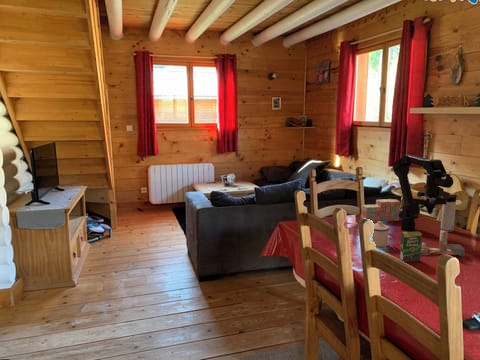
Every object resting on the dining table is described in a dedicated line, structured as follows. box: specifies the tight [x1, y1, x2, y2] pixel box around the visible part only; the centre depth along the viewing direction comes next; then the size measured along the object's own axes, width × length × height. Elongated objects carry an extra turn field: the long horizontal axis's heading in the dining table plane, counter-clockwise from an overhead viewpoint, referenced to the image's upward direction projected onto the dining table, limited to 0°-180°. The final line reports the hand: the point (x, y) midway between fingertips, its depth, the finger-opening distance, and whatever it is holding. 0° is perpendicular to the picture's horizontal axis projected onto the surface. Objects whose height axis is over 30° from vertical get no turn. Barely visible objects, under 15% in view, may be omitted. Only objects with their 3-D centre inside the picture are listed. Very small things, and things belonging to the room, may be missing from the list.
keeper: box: [447, 243, 466, 259], centre depth 167 cm, size 5×6×4 cm
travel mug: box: [440, 194, 458, 233], centre depth 200 cm, size 6×7×20 cm
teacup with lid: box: [372, 221, 390, 248], centre depth 182 cm, size 12×9×12 cm
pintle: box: [420, 241, 432, 256], centre depth 170 cm, size 6×6×5 cm
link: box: [421, 230, 457, 256], centre depth 168 cm, size 16×5×10 cm, turn 74°
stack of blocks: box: [360, 198, 401, 223], centre depth 222 cm, size 21×6×12 cm, turn 96°
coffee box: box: [399, 231, 423, 263], centre depth 161 cm, size 8×3×13 cm, turn 90°
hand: (429, 213), depth 188 cm, fingers closed
